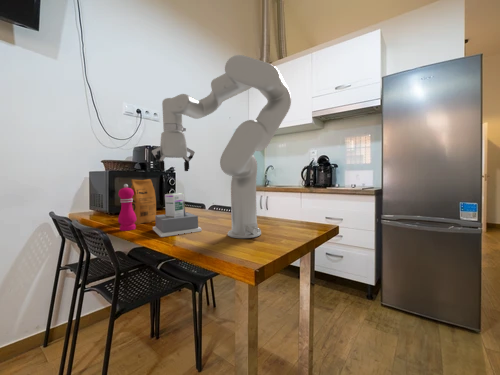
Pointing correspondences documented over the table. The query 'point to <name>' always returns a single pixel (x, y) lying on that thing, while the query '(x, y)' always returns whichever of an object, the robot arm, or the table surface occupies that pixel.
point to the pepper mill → (126, 209)
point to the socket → (176, 225)
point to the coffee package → (143, 201)
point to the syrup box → (175, 205)
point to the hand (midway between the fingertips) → (175, 171)
